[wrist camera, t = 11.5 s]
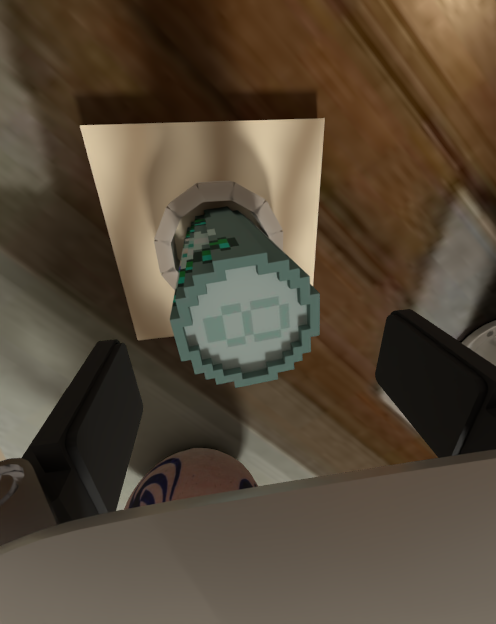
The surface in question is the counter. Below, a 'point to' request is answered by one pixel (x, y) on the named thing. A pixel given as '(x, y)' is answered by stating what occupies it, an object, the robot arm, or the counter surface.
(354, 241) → the counter surface
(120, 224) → the socket board
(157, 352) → the counter surface
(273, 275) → the can
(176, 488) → the ceramic pitcher
